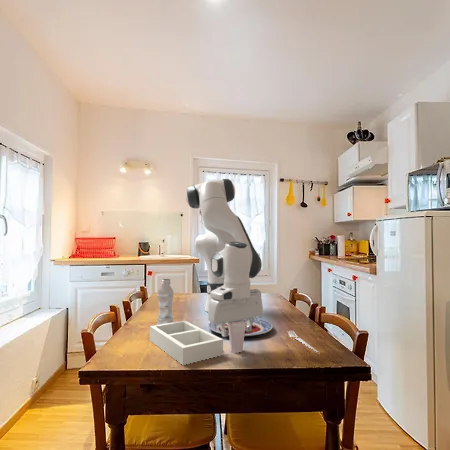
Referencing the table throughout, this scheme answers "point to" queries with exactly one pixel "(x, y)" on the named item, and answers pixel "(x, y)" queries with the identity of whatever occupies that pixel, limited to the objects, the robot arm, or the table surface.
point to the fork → (300, 340)
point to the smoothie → (236, 335)
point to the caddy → (186, 342)
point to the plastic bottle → (165, 302)
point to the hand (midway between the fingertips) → (236, 333)
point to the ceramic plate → (256, 329)
